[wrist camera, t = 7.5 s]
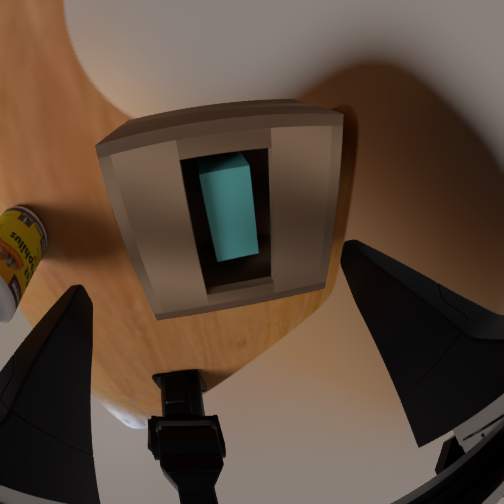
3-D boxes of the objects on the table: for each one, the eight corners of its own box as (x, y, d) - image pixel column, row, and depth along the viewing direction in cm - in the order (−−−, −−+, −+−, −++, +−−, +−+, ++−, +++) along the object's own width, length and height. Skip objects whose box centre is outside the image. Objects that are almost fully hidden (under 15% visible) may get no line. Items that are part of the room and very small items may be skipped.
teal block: (243, 213, 20) (258, 253, 16) (210, 220, 20) (217, 261, 16) (234, 142, 17) (249, 165, 13) (196, 149, 17) (199, 174, 13)
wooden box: (291, 231, 23) (324, 288, 17) (161, 254, 21) (157, 320, 16) (291, 99, 16) (343, 114, 11) (128, 120, 15) (95, 145, 9)
